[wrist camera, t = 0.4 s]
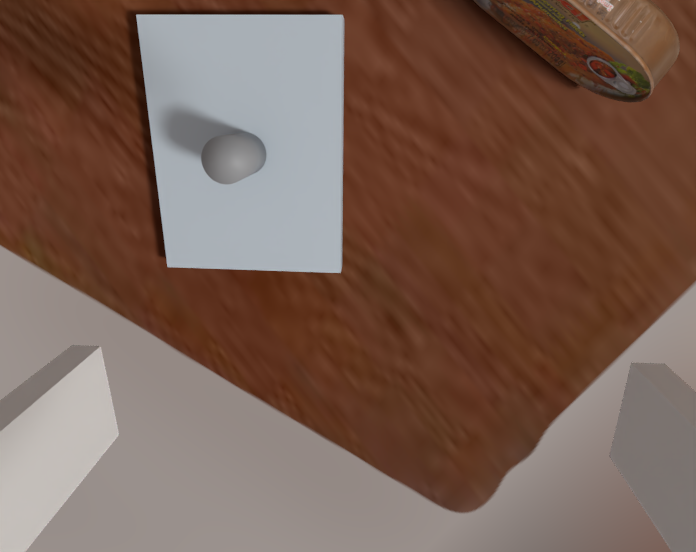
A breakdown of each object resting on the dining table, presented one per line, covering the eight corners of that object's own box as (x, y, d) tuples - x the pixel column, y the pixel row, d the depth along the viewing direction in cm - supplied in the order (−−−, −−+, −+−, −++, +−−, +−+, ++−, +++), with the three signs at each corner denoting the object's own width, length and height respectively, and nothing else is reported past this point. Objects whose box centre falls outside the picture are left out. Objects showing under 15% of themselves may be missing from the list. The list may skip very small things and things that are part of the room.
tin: (433, -31, 31) (451, -80, 23) (464, -78, 30) (494, -147, 22) (602, 107, 33) (672, 106, 25) (636, 67, 32) (720, 53, 24)
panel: (146, 18, 33) (93, -3, 27) (344, 18, 32) (335, -3, 26) (175, 261, 39) (136, 289, 33) (342, 266, 38) (334, 296, 32)
